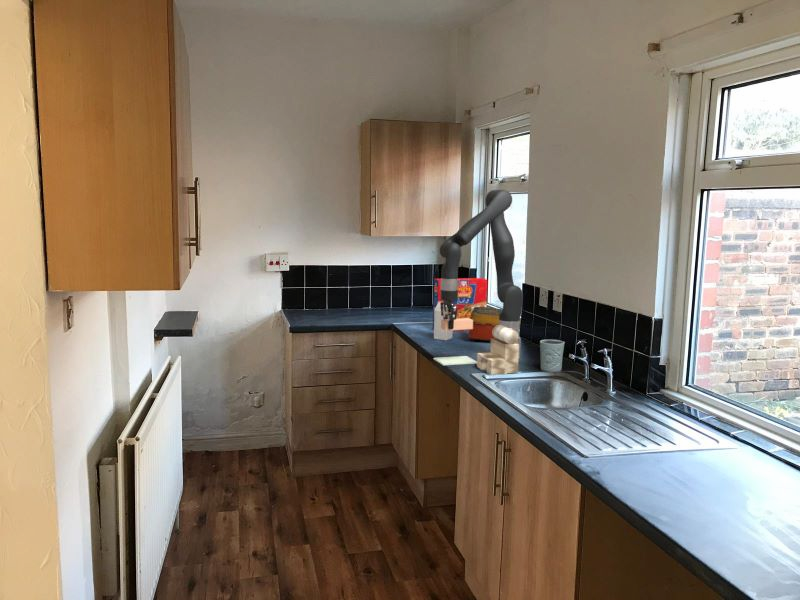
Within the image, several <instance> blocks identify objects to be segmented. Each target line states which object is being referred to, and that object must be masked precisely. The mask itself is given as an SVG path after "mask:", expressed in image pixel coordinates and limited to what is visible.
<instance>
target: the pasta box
mask: <svg viewBox="0 0 800 600" xmlns="http://www.w3.org/2000/svg"><path fill="white" fill-rule="evenodd" d="M440 291H441V278H433V303H432V304H433V306H432V330H433V331H434V314H435V308H436V306H437V304H438V301H440V302H444V300H441V299H440ZM487 299H488V279H486V278H482V277H473V278H472V277H470V278H469V277H468V278H467V277H464V278H463V277H461V278H460V277H458V299H457V300H455V301H454V304H455V306H457V307H458V310H457V317H456V319H460V318H469V319H470V317H471V312H472V310H473V309H474V307H486V308H487V303H488V300H487ZM454 316H455V315H454ZM466 331H468V332H469V331H470V330H469V329H465V330H453V332H466Z"/></svg>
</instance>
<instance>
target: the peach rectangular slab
mask: <svg viewBox="0 0 800 600" xmlns="http://www.w3.org/2000/svg"><path fill="white" fill-rule="evenodd" d="M441 329H443V330H445V331H447V330H465V329H473V320H472V319H469V318H460V319H456V320H454V328H453V329H448V319H441Z"/></svg>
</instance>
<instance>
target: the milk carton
mask: <svg viewBox="0 0 800 600" xmlns="http://www.w3.org/2000/svg"><path fill="white" fill-rule="evenodd" d="M440 303H441V302H440V301H438V304H437V306H436V308H435V314H434V330H433V339H434V340H439V341H441V340H442V341H447V340H451V339H453V332H454V331H453V330H447V331H445V330H443V329H441V319H443V316H441V305H440Z"/></svg>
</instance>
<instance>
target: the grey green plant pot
mask: <svg viewBox="0 0 800 600" xmlns="http://www.w3.org/2000/svg"><path fill="white" fill-rule="evenodd" d="M564 348H565V341H562V340H559V339H541V340H540V341H539V349H540V351H539V352H540V356H539V357H540V370H541V371H544V372H548V373H559V372H561V371H562V367H563V356H564V355H563V354H564V350H565V349H564Z"/></svg>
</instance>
